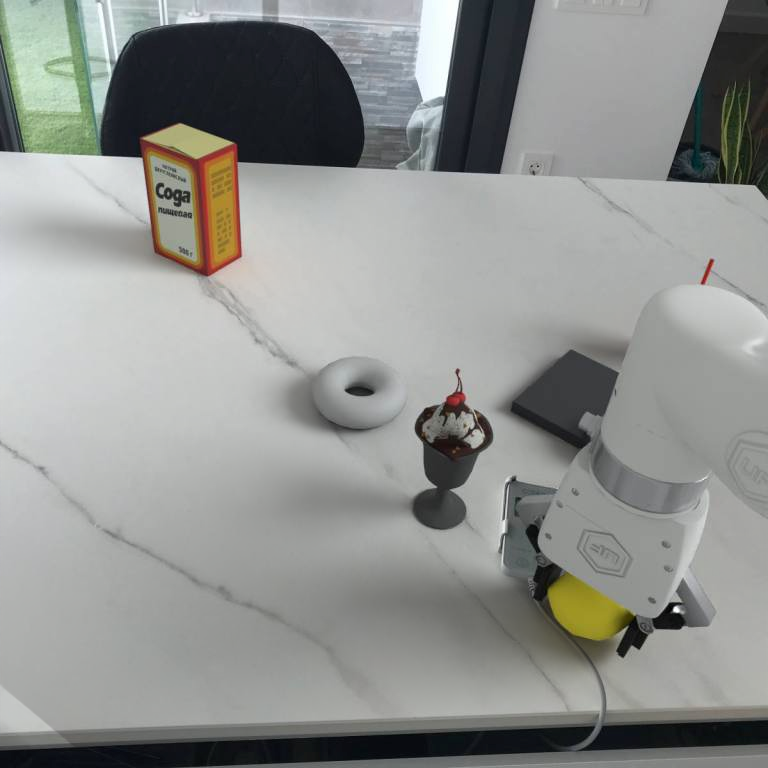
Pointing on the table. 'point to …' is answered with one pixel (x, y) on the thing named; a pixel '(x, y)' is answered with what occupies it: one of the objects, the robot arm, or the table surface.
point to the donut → (359, 408)
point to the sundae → (449, 456)
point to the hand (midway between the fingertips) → (585, 615)
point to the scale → (567, 396)
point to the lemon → (586, 609)
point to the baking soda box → (193, 197)
